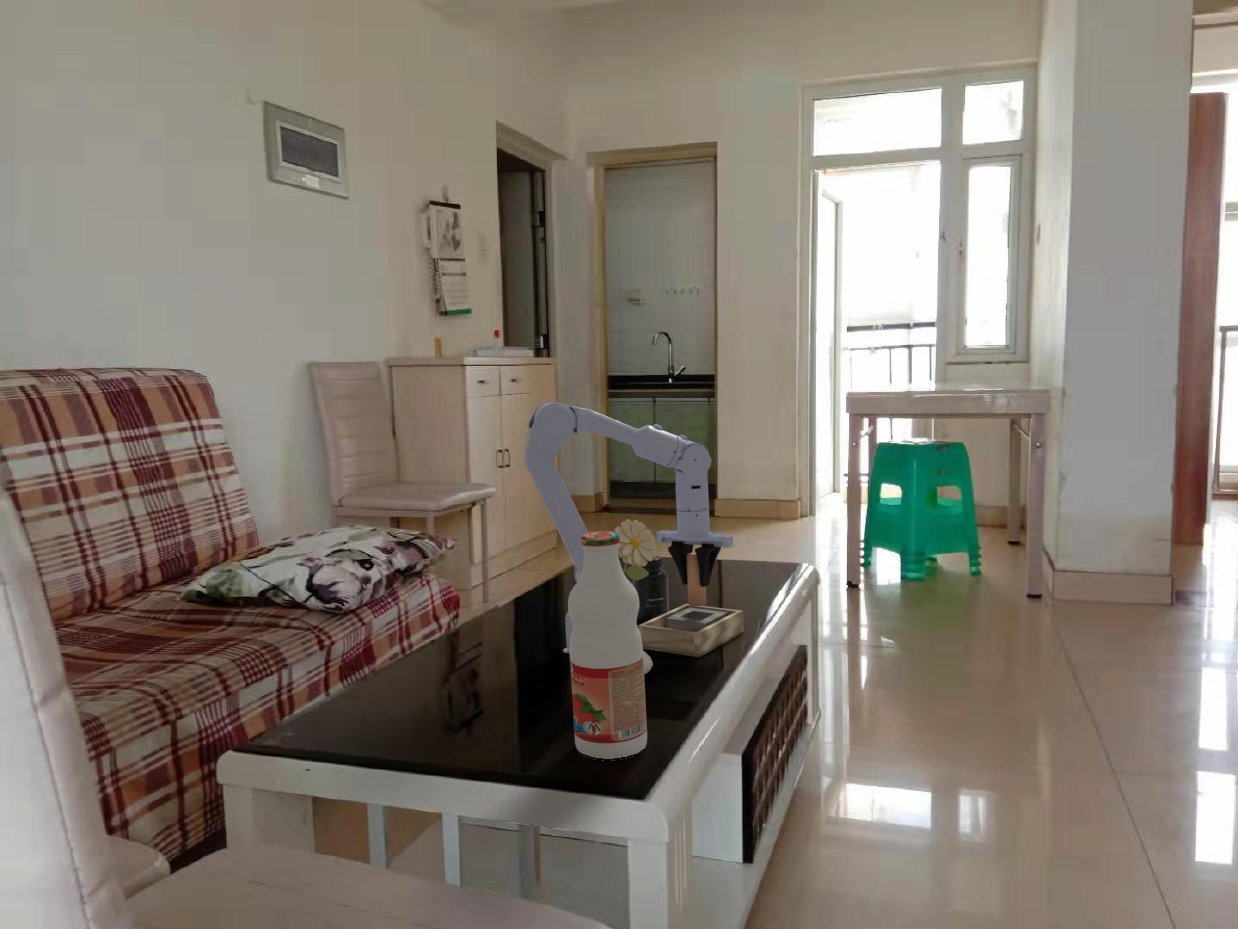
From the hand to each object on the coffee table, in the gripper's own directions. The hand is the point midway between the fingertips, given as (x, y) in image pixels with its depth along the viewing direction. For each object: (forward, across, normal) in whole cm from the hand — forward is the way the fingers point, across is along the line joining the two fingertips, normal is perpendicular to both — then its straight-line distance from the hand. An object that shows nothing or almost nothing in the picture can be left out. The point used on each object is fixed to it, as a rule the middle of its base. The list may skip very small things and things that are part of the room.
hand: (696, 584), depth 166 cm
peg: (+4, 0, 0) cm, 4 cm away
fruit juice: (+10, -14, +47) cm, 50 cm away
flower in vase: (+10, 0, +23) cm, 25 cm away
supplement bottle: (+10, +14, -7) cm, 19 cm away
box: (+10, 0, +2) cm, 10 cm away
